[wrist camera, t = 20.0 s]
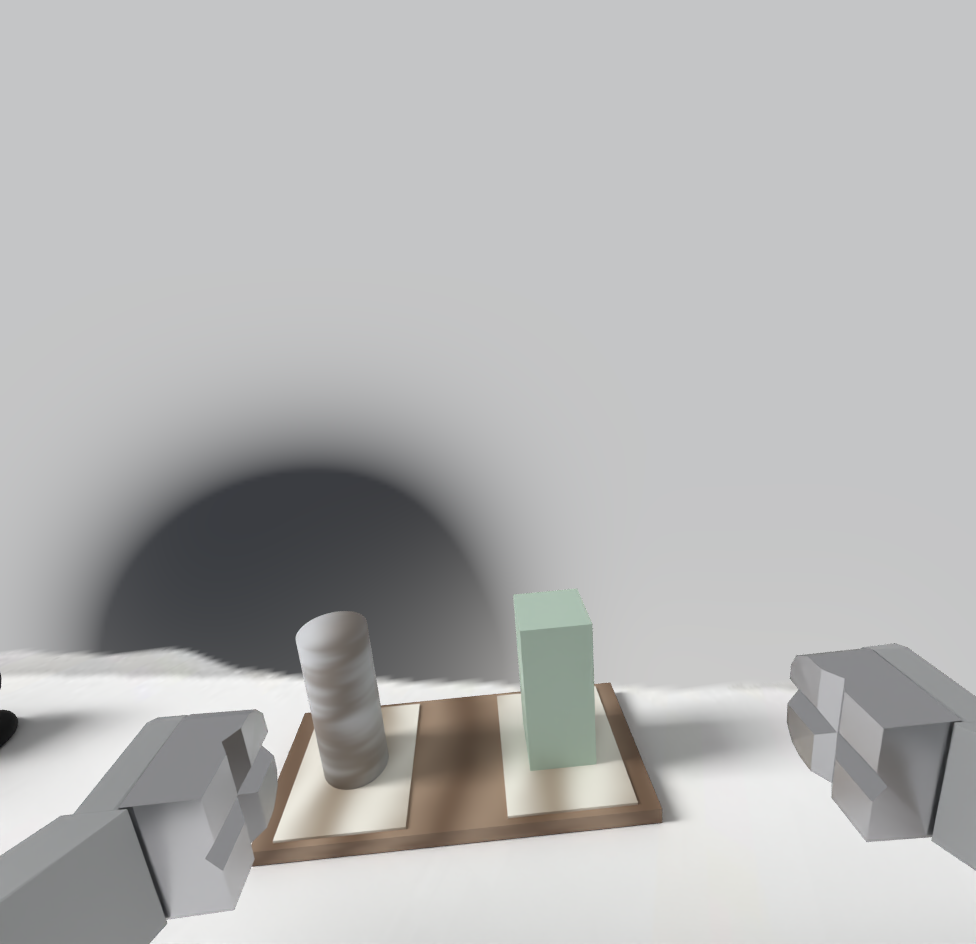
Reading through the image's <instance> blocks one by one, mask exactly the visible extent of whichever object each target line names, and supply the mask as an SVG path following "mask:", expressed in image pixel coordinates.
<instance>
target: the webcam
mask: <svg viewBox="0 0 976 944" xmlns="http://www.w3.org/2000/svg"><path fill="white" fill-rule="evenodd" d="M0 688H1V674H0ZM17 725H18V719H17V717H16V715H15V714H14V713H12V712H11V711H7V710H0V747H1V746H2V745H3V744H4V743H5V742H6V741H7V740H8V739H9V738H10V737H11V736H12V735H13V733H14V732H15V730H16V728H17Z"/></svg>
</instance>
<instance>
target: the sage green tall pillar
mask: <svg viewBox="0 0 976 944" xmlns="http://www.w3.org/2000/svg"><path fill="white" fill-rule="evenodd" d="M513 597H514V609H515V623H516V636H517V649H518V663H519V676H520V689H521V702H522V715H523V725H524V732H525V739H526V745H527V752H528V759H529V766H530V771H536V770H546V769H556V768H565V767H575V766H585V765H594V764H596V731H595V698H594V668H593V666H594V665H593V632H592V622H591V620H590V618H589V615H588V613H587V611H586V608H585V606H584V604H583V601H582V599H581V597H580V594H579V592H578V590H577V589H568V590H558V591H548V592H537V593H526V594H516V595H513Z"/></svg>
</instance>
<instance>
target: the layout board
mask: <svg viewBox="0 0 976 944" xmlns="http://www.w3.org/2000/svg"><path fill="white" fill-rule="evenodd" d="M296 643H297V648H298V653H299V657H300V662H301V667H302V672H303V677H304V682H305V686H306V691H307V696H308V701H309V705H310V710H311V713H305V715H304V717H303V719H302V722H301V724H300V727H299V729H298V732H297V734H296V737H295V739H294V742H293V744H292V746H291V749H290V751H289V754H288V756H287V759H286V761H285V764H284V766H283V769H282V771H281V773H280V776H279V778H278V781H277V783H278V787H277V793H276V799H275V805H274V810H273V813H272V815H271V818H270V821H269V823H268V826H267V828H266V829H265V830H264V831H263V832H262V833H261V834H260V835H259V836H258V837H257V838H256V839H255V840H254V841H253V842H252V845H251V847H252V850H253V854H254V858H255V859H254V862H253V864H252V866H259V865H268V864H277V863H287V862H296V861H306V860H315V859H324V858H334V857H343V856H353V855H362V854H371V853H381V852H390V851H400V850H409V849H418V848H428V847H437V846H446V845H456V844H465V843H475V842H484V841H493V840H503V839H512V838H522V837H531V836H540V835H550V834H559V833H569V832H578V831H587V830H597V829H606V828H615V827H625V826H634V825H644V824H653V823H662V807H661V805H660V802H659V800H658V798H657V795H656V793H655V790H654V788H653V785H652V783H651V780H650V778H649V776H648V773H647V771H646V768H645V766H644V763H643V761H642V759H641V756H640V754H639V751H638V749H637V746H636V744H635V742H634V739H633V737H632V734H631V732H630V729H629V727H628V724H627V722H626V720H625V717H624V715H623V712H622V710H621V707H620V705H619V703H618V700H617V698H616V695H615V693H614V690H613V688H612V686H611V683H601V684H594V698H595V731H596V764H594V765H585V766H575V767H565V768H556V769H546V770H536V771H530V766H529V759H528V752H527V745H526V739H525V732H524V725H523V715H522V702H521V692H512V693H502V694H492V695H482V696H472V697H462V698H452V699H442V700H432V701H422V702H412V703H402V704H392V705H382V706H381V705H380V699H379V693H378V687H377V681H376V675H375V669H374V664H373V657H372V651H371V645H370V639H369V633H368V627H367V621H366V619H365V617H363V615H361V614H359V613H356V612H351V611H339V612H333V613H329V614H325V615H322V616H319V617H317V618H315V619H313V620H311V621H309V622H308V623H306V624H305V625H304V626H303V627H302V628H301V629H300V630H299V631H298V633H297V635H296Z"/></svg>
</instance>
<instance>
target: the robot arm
mask: <svg viewBox="0 0 976 944" xmlns="http://www.w3.org/2000/svg"><path fill="white" fill-rule="evenodd" d="M790 679H791V681H792V682H793V683H794V684H795V686H796V687H797V688H798V691H797V692H796V694H795V695H794V696H793V697H792V699H791V700H790V701H789V702H788V707H787V724H788V728H789V732H790V736H791V739H792V742H793V744H794V746H795V748H796V750H797V752H798V754H799V756H800V757H801V759H802V760H803V761H804V763H805V764H806V765H807V767H808V768H809V769H810V771H812V772H814V773H815V774H817V775H819V776H821V777H822V778H824V779H826V780H828V781H829V782H831V783H832V799H833V800H834V801H835V803H836V804H837V805H838V806H839V808H840V809H841V810H842V812H843V813H844V814H845V815H846V817H847V818H848V819H849V820H850V822H851V823H852V824H853V826H854V827H855V828H856V829H857V831H858V832H859V833H860V834H861V836H862V837H863V838H864V840H865V841H866V842H873V841H886V840H899V839H912V838H926V837H932V840H931V841H933V842H934V843H936V844H937V845H939V846H940V847H941V848H943V849H944V850H946V851H947V852H949V853H950V854H952V855H953V856H955V857H956V858H958V859H959V860H961V861H962V862H964V863H965V864H967V865H968V866H970V867H971V868H973V869H974V870H976V696H974V695H973V694H971V693H970V692H969V691H967V690H966V689H965V688H963V687H962V686H960V685H959V684H958V683H956V682H955V681H953V680H952V679H951V678H949V677H948V676H947V675H945V674H944V673H942V672H941V671H940V670H938V669H937V668H935V667H934V666H933V665H931V664H930V663H928V662H927V661H926V660H924V659H923V658H921V657H920V656H919V655H917V654H916V653H914V652H913V651H912V650H910V649H909V648H908V647H905V646H902V645H898V644H895V643H894V644H887V645H878V646H871V647H863V648H861V649H854V650H845V651H835V652H825V653H816V654H807V655H797V656H796V657H795V659H794V661H793V662H792V664H791V673H790ZM267 732H268V730H267V726H266V723H265V720H264V716H263V713H261V712H259V711H258V710H256V709H255V710H242V711H229V712H216V713H203V714H191V715H182V716H171V717H159V718H156V719H154V720H152V721H150V722H148V723H146V725H145V726H144V727H143V728H142V730H141V731H140V732H139V733H138V734H137V736H136V737H135V738H134V739H133V741H132V742H131V743H130V744H129V746H128V747H127V748H126V749H125V751H124V752H123V753H122V754H121V756H120V757H119V758H118V759H117V761H116V762H115V763H114V764H113V765H112V767H111V768H110V769H109V770H108V772H107V773H106V774H105V775H104V777H103V778H102V779H101V780H100V782H99V783H98V784H97V785H96V787H95V788H94V789H93V790H92V792H91V793H90V794H89V795H88V797H87V798H86V799H85V800H84V801H83V803H82V804H81V805H80V806H79V808H78V809H77V810H76V811H75V813H74V814H72V815H64V816H60V817H58V818H57V819H55V820H54V821H52V822H51V823H49V824H48V825H46V826H45V827H43V828H42V829H40V830H39V831H37V832H36V833H34V834H33V835H31V836H30V837H28V838H27V839H25V840H24V841H22V842H21V843H19V844H18V845H16V846H14V847H13V848H11V849H10V850H8V851H7V852H5V853H4V854H2V855H1V856H0V944H149V943H150V942H151V941H152V940H153V939H154V938H155V937H156V936H157V934H158V933H159V932H160V931H161V930H162V929H163V928H164V927H165V926H166V925H167V921H166V920H168V919H175V918H182V917H189V916H196V915H203V914H210V913H217V912H224V911H231V910H234V909H235V907H236V904H237V902H238V899H239V897H240V894H241V892H242V889H243V887H244V884H245V882H246V879H247V877H248V874H249V872H250V869H251V867H252V864H253V862H254V859H255V858H254V854H253V850H252V847H251V842H253V841H254V840H255V839H256V838H257V837H258V836H259V835H260V834H261V833H262V832H263V831H264V830H265V829H266V828H267V826H268V823H269V821H270V818H271V815H272V813H273V810H274V805H275V799H276V793H277V787H278V783H277V768H276V763H275V759H274V756H273V755H272V754H271V753H270V752H269V751H268V750H266V749H265V748H264V747H263V746H262V743H263V741H264V739H265V737H266V735H267Z"/></svg>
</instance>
